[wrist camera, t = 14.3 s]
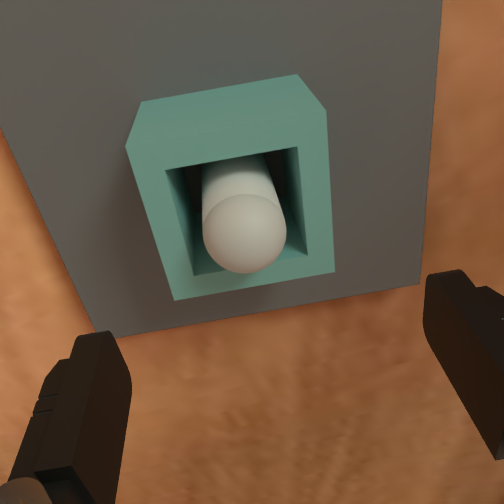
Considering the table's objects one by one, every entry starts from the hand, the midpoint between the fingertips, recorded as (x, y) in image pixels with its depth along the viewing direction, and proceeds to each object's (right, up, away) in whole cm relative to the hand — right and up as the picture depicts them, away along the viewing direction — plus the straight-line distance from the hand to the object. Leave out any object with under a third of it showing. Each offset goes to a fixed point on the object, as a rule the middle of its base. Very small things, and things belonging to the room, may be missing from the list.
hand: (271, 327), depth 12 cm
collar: (-1, +6, +9) cm, 11 cm away
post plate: (-2, +7, +10) cm, 12 cm away
